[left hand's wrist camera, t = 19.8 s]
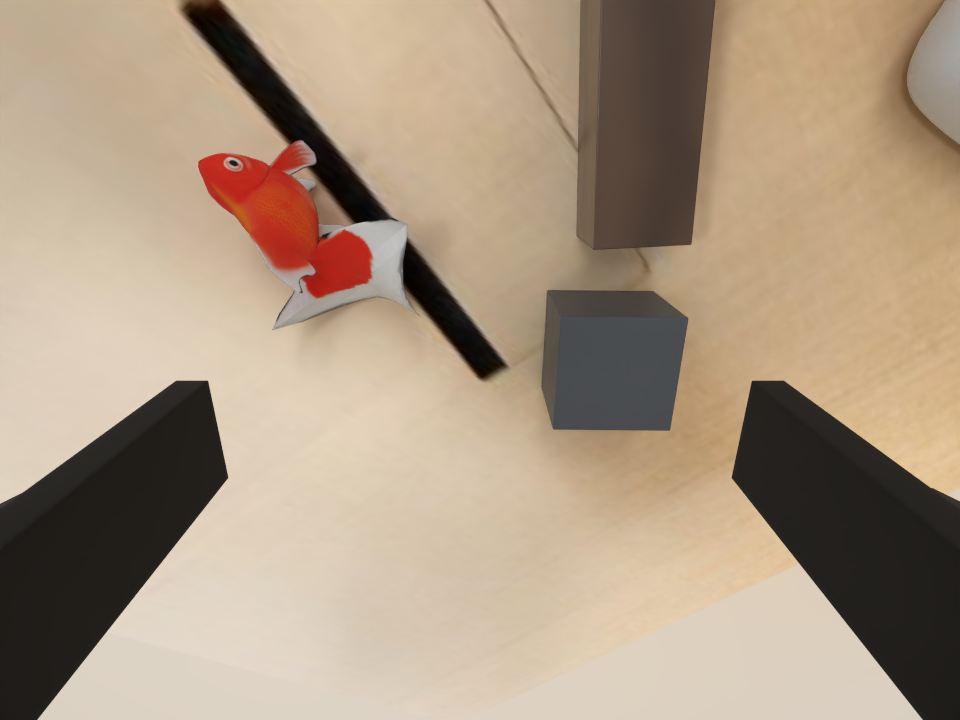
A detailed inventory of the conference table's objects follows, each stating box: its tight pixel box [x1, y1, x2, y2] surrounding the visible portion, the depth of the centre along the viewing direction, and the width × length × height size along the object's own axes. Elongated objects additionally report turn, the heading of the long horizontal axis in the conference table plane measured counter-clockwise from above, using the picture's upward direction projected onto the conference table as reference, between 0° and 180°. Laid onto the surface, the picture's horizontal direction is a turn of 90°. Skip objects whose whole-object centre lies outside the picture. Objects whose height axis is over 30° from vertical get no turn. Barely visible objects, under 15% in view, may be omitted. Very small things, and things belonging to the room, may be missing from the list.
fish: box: [198, 140, 420, 330], centre depth 33 cm, size 11×16×10 cm
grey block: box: [542, 290, 688, 431], centre depth 37 cm, size 8×8×7 cm
